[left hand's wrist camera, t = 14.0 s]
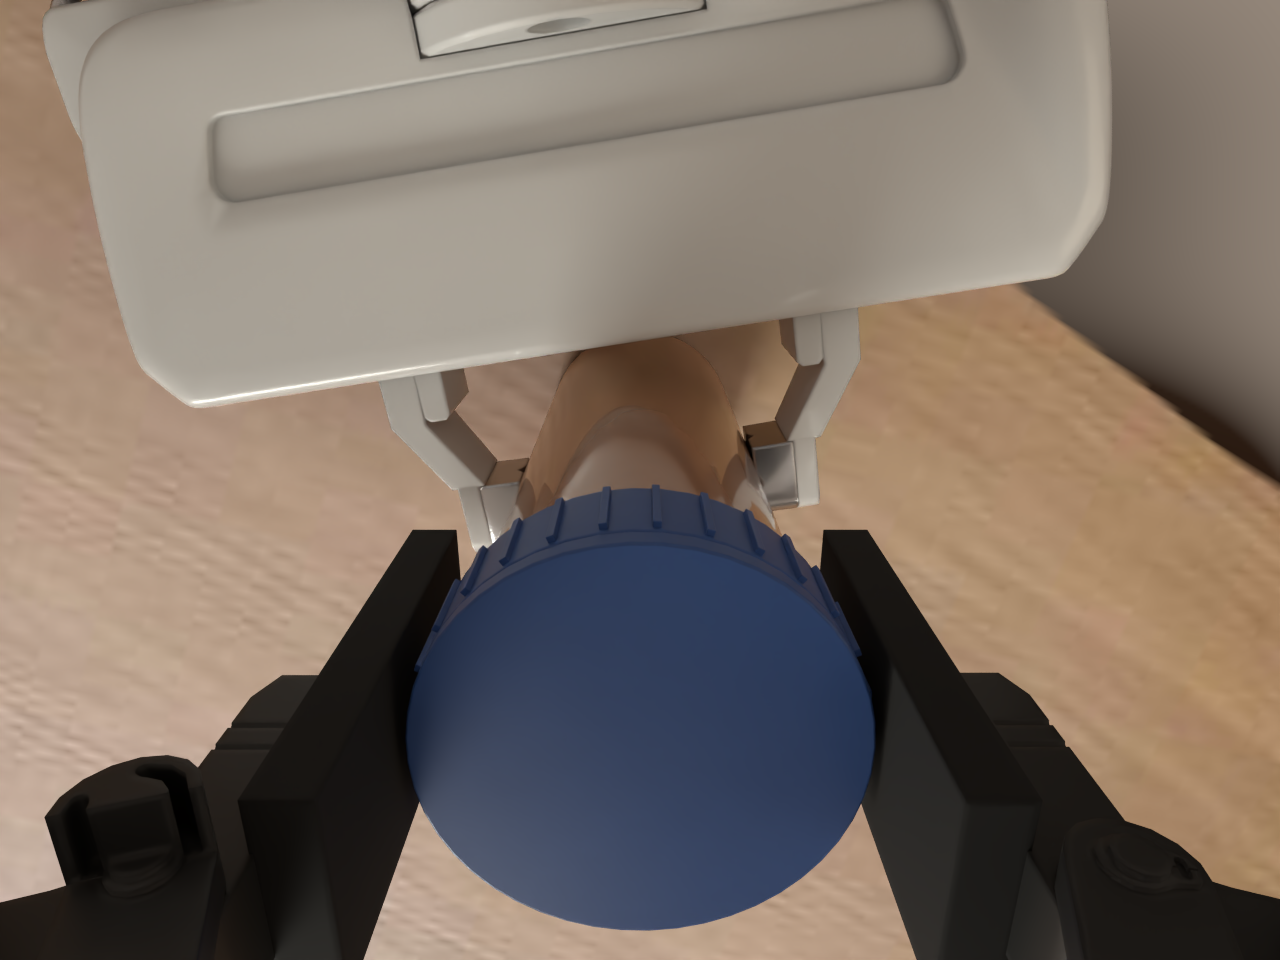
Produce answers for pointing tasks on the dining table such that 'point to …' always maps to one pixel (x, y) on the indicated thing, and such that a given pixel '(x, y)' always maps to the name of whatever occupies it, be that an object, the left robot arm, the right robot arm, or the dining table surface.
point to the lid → (640, 712)
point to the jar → (640, 432)
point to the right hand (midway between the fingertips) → (647, 520)
